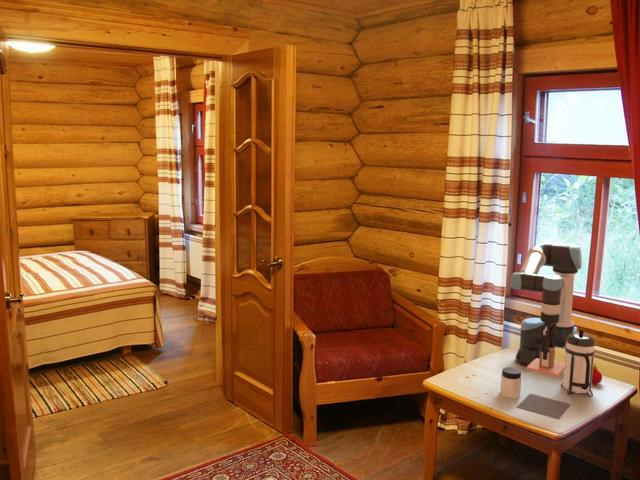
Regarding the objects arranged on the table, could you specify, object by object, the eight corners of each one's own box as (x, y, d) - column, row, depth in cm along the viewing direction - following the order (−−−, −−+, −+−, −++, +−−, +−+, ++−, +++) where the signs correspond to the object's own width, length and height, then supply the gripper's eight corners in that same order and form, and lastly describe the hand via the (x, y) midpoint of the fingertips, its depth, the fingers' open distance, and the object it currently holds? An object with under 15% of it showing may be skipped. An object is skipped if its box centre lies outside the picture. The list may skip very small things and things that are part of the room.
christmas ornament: (584, 379, 289) (585, 360, 288) (600, 381, 287) (601, 361, 286) (586, 385, 283) (588, 365, 281) (602, 387, 281) (604, 367, 279)
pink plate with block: (536, 360, 266) (537, 340, 265) (566, 367, 259) (567, 347, 257) (526, 369, 256) (527, 349, 255) (557, 377, 249) (558, 356, 247)
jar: (508, 400, 267) (510, 375, 265) (496, 393, 274) (497, 368, 272) (524, 396, 271) (525, 372, 268) (511, 390, 278) (512, 365, 276)
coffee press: (551, 390, 278) (555, 328, 272) (571, 382, 287) (575, 322, 281) (586, 403, 264) (591, 339, 258) (605, 394, 273) (611, 332, 267)
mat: (529, 394, 273) (529, 393, 273) (570, 405, 262) (570, 404, 262) (516, 408, 259) (516, 407, 259) (558, 420, 248) (558, 419, 248)
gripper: (547, 306, 262) (544, 356, 266) (534, 315, 249) (531, 368, 253) (565, 309, 257) (561, 360, 262) (553, 319, 244) (549, 372, 248)
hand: (546, 364), depth 257 cm, fingers closed on pink plate with block, 4 cm apart
